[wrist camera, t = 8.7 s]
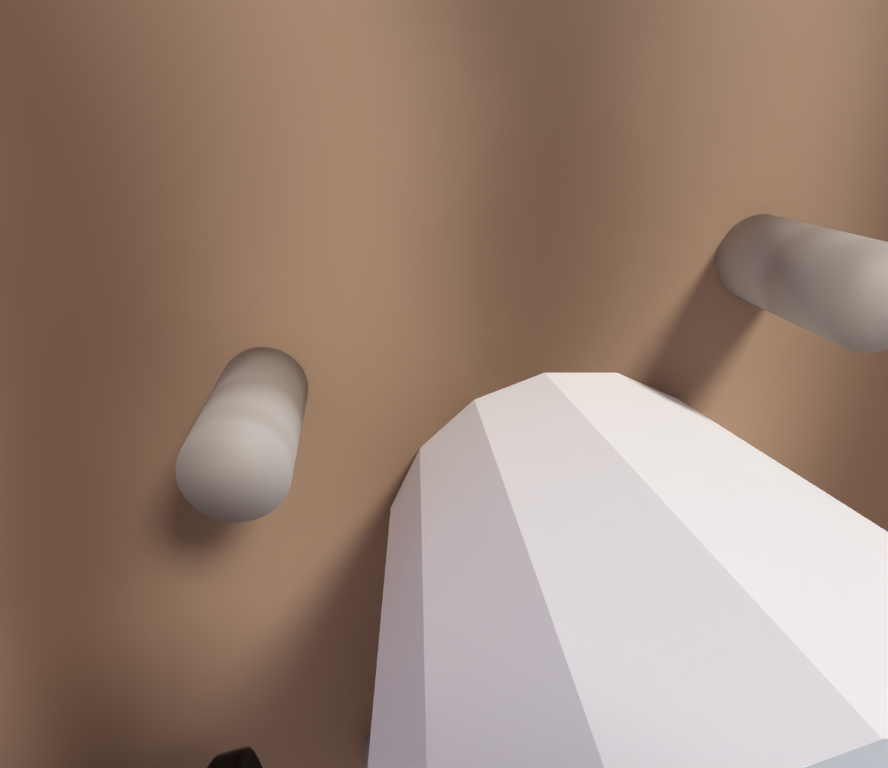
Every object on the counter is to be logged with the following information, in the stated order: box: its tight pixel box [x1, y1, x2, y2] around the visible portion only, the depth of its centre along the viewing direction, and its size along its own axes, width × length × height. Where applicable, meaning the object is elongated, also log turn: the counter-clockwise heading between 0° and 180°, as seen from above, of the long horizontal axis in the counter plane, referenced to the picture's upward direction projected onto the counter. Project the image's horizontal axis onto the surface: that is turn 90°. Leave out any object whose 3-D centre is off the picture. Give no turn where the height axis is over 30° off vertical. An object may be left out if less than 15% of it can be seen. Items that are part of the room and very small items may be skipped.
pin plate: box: [0, 0, 888, 768], centre depth 10 cm, size 20×20×4 cm
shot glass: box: [367, 373, 888, 768], centre depth 8 cm, size 7×7×7 cm
